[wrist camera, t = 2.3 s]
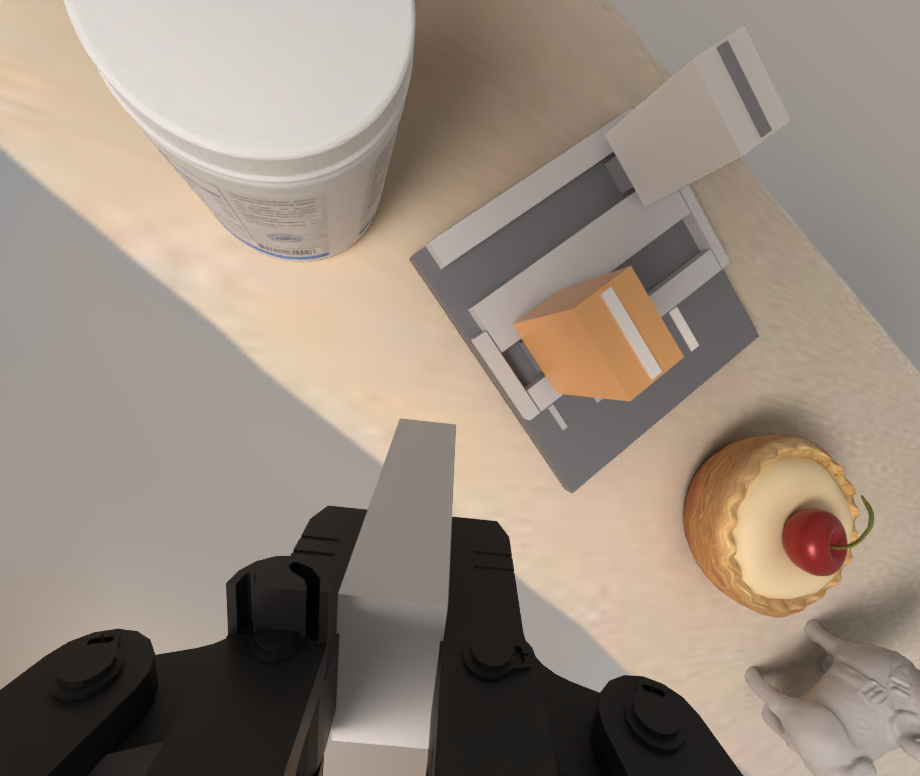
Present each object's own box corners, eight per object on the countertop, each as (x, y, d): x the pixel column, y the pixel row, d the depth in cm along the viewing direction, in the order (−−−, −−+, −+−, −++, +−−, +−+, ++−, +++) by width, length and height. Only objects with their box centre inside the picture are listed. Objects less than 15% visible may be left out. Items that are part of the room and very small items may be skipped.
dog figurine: (866, 638, 40) (1052, 731, 30) (755, 736, 37) (917, 876, 27) (845, 586, 39) (1029, 664, 29) (730, 683, 36) (887, 806, 26)
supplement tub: (305, 62, 27) (275, -276, 13) (413, 202, 29) (490, 42, 15) (160, 159, 26) (-58, -103, 11) (284, 302, 27) (230, 229, 13)
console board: (409, 259, 29) (447, 203, 19) (625, 115, 32) (753, 4, 23) (565, 489, 32) (666, 542, 22) (747, 336, 36) (905, 324, 26)
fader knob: (503, 326, 30) (574, 308, 21) (546, 295, 30) (632, 264, 21) (546, 392, 30) (632, 401, 22) (587, 360, 31) (686, 356, 22)
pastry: (639, 550, 34) (742, 611, 25) (709, 401, 35) (831, 412, 26) (758, 610, 37) (887, 684, 28) (819, 472, 38) (962, 502, 29)
